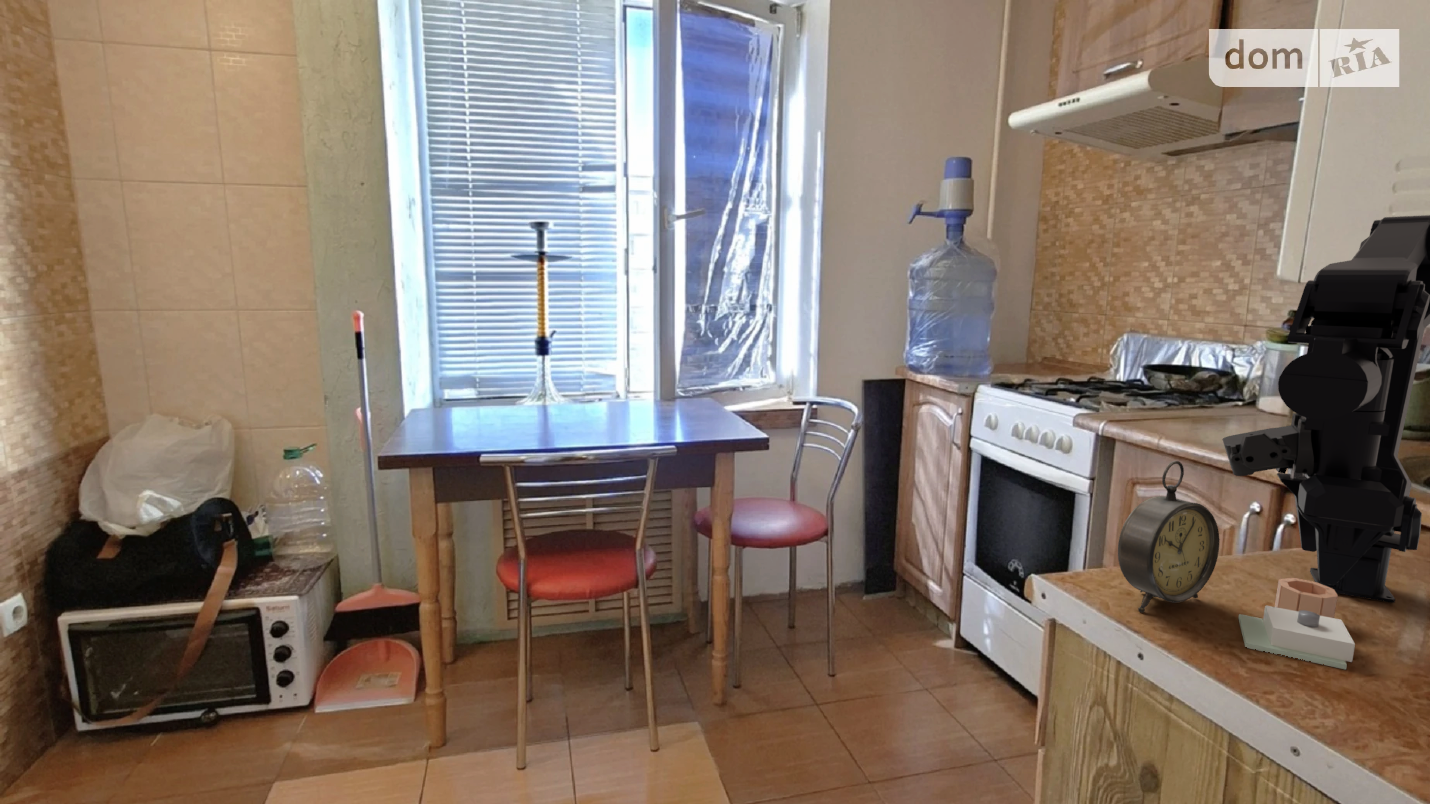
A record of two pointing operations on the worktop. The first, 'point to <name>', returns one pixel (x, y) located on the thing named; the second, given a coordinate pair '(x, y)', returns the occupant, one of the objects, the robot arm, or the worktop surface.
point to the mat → (1259, 640)
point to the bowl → (1306, 597)
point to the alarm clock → (1168, 546)
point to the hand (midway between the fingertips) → (1317, 566)
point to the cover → (1308, 633)
